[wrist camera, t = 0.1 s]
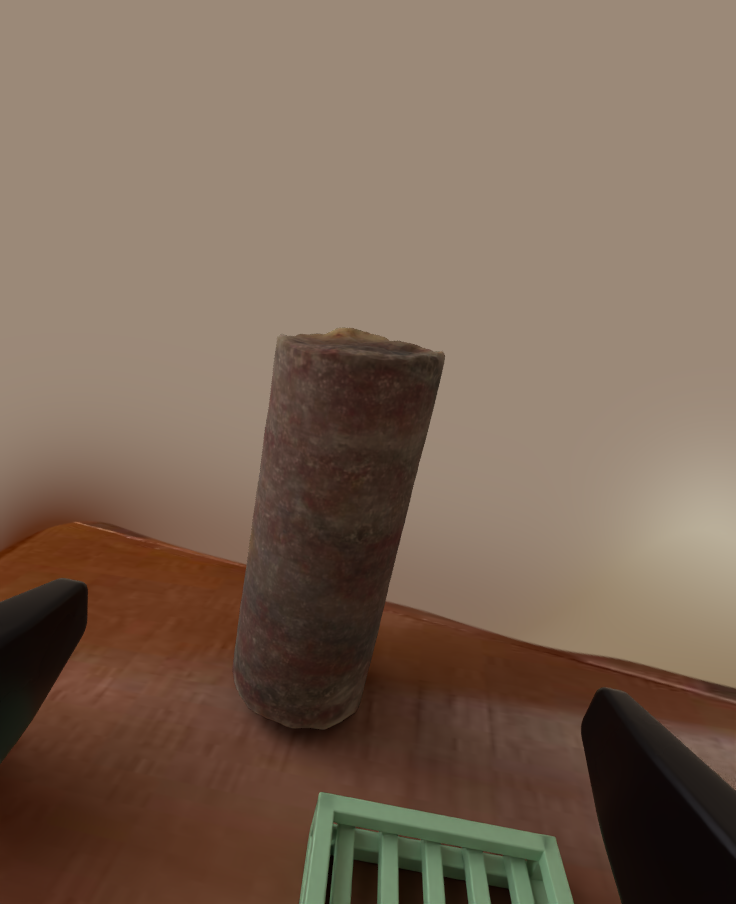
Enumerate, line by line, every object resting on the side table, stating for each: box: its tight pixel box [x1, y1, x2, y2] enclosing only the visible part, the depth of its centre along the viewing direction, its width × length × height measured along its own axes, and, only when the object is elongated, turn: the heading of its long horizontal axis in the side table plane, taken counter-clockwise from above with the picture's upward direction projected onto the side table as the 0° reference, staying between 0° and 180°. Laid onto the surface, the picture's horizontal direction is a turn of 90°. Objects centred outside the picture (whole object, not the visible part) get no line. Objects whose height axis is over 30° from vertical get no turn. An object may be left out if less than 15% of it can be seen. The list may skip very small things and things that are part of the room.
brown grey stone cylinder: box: [233, 328, 445, 730], centre depth 25 cm, size 8×7×20 cm
